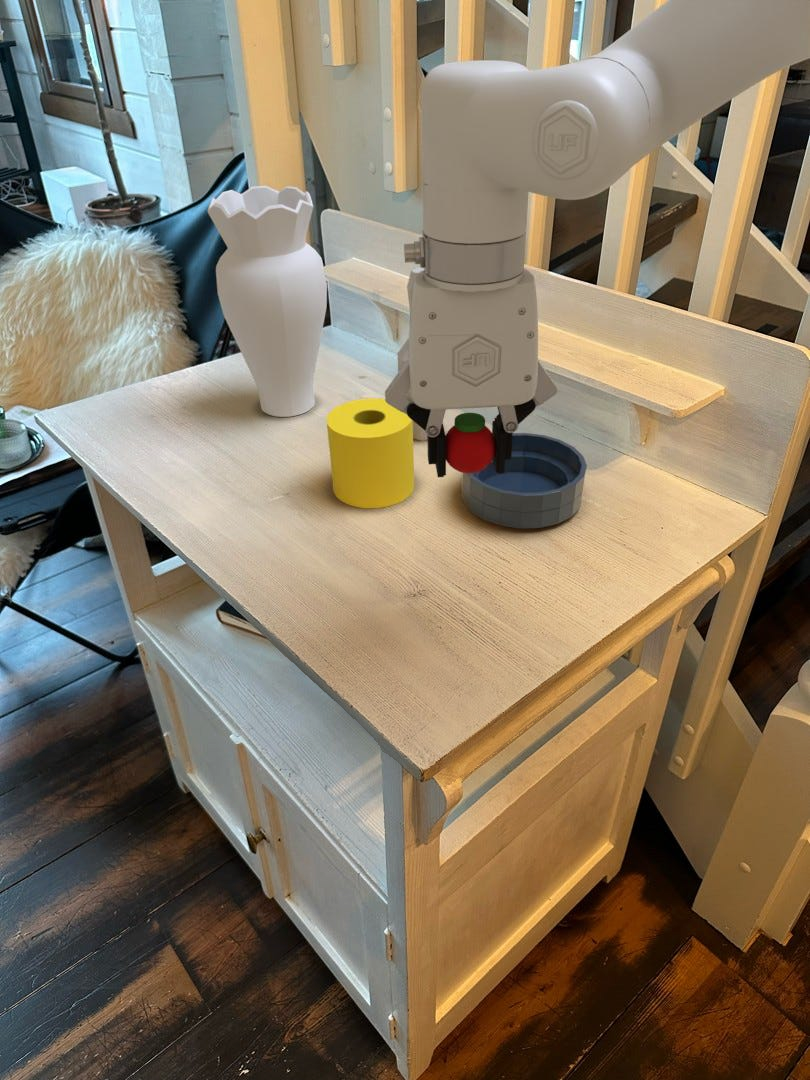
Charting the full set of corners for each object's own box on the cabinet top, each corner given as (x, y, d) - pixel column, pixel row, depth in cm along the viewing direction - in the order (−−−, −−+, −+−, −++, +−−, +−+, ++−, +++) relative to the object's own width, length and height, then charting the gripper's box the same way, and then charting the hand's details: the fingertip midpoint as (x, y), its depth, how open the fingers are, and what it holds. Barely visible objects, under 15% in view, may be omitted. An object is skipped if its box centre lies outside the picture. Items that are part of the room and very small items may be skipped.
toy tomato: (499, 460, 69) (501, 410, 66) (488, 486, 65) (491, 434, 62) (449, 454, 70) (450, 404, 67) (437, 479, 66) (436, 428, 63)
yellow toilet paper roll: (357, 517, 88) (352, 446, 83) (319, 480, 95) (312, 412, 90) (429, 491, 92) (428, 422, 87) (388, 457, 99) (384, 391, 94)
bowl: (588, 476, 94) (593, 440, 91) (572, 541, 83) (577, 503, 80) (476, 461, 98) (477, 426, 95) (448, 522, 87) (448, 485, 84)
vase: (222, 424, 108) (181, 208, 91) (259, 381, 120) (229, 182, 103) (320, 432, 106) (296, 210, 88) (348, 387, 117) (332, 183, 100)
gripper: (361, 277, 53) (375, 496, 64) (599, 266, 54) (573, 484, 65) (360, 248, 59) (373, 452, 70) (573, 238, 60) (553, 442, 71)
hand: (468, 465), depth 67 cm, fingers closed on toy tomato, 4 cm apart
